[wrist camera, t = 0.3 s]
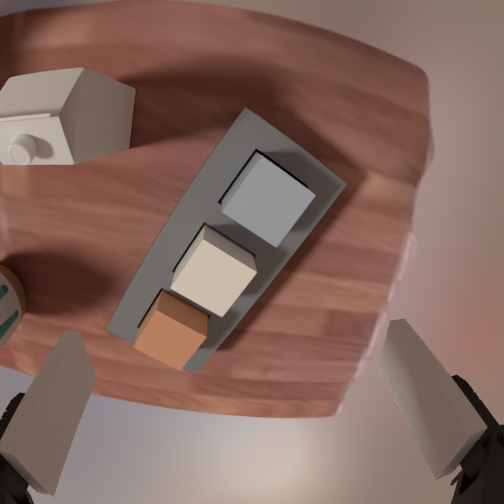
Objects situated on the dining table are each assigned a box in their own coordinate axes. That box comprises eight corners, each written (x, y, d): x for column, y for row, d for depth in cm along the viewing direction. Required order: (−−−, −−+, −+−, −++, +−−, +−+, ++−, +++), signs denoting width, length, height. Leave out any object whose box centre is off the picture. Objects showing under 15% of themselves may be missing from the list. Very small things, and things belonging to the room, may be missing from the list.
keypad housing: (116, 308, 40) (106, 328, 36) (242, 110, 33) (245, 107, 28) (196, 351, 44) (195, 374, 39) (331, 176, 36) (347, 184, 32)
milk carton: (81, 89, 29) (-22, 73, 12) (136, 88, 30) (58, 57, 13) (76, 148, 32) (-29, 175, 14) (130, 149, 33) (47, 174, 15)
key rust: (142, 318, 38) (133, 347, 32) (164, 283, 36) (156, 310, 31) (183, 340, 39) (179, 370, 34) (208, 308, 38) (206, 337, 32)
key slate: (221, 197, 33) (221, 212, 28) (255, 151, 31) (261, 155, 26) (267, 228, 35) (276, 247, 29) (300, 183, 33) (315, 195, 28)
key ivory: (177, 263, 35) (170, 288, 30) (205, 220, 34) (203, 239, 28) (221, 289, 37) (222, 317, 32) (251, 249, 36) (257, 272, 30)
